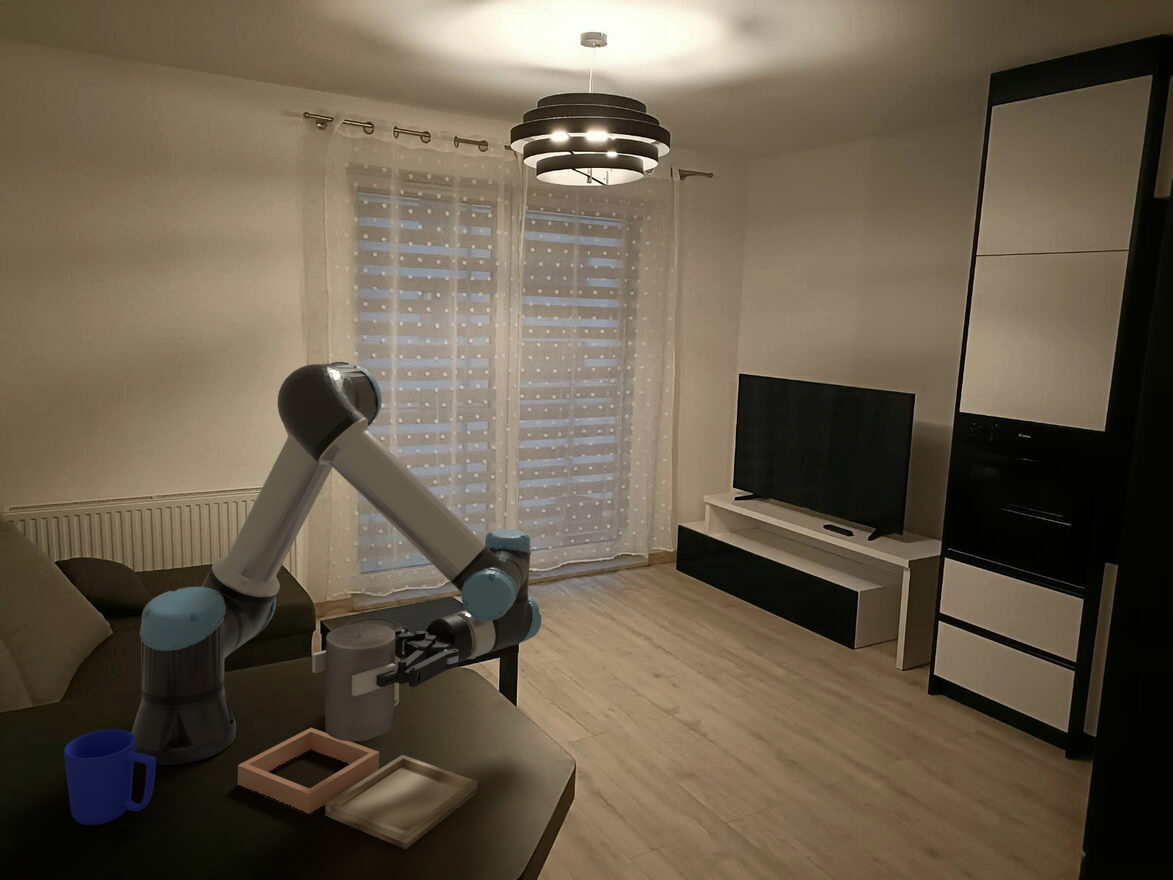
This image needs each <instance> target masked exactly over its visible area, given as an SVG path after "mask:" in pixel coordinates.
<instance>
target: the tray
mask: <svg viewBox="0 0 1173 880" xmlns="http://www.w3.org/2000/svg"><path fill="white" fill-rule="evenodd" d="M478 783H479V782H478V781H477V780H475V779H473V778H469V777H467V776H463V775H460V774H458V773H455V772H452V771H451V770H450V771H449V770H446V769H443V768H441V767H438V766H435V765H432V764H429V763H427V762H423V761H421V760H418V759H417V758H416V759H415V758H412V757H409V756H408V755H405V754H402V755H400V756H398V757H396V758H395V759H393V760H391V761H390V762H388V763H387V764H386V765H384V766H382V767H380V768H379V770H378V771H376V772H374V773H373V774H371V775H370V776H368V777H367V778H365V779H363V780H362V781H360V782H359V783H357V784H356V785H354V786H352V787H351V788H349V789H348V790H346V791H344V792H343V793H341V794H340V795H338V796H337V797H335V798H333V799H332V800H330V801H329V802H327V803H326V804H325V805H324V807H325V808H324V809H325V810H324V813H325V814H324V815H325V817H327V816H328V817H327V818H329V817H330V818H329V819H332V820H335V821H337V822H339V823H341V824H344V825H346V826H349V827H351V828H354V829H355V830H358V831H360V832H363V833H365V834H367V835H370V836H373V837H375V838H377V839H380V840H382V841H385V842H387V843H389V844H392V845H394V846H396V847H398V848H402V849H404V850H407V849H409V848H410V847H411V846H412V845H414V844H415V843H416V842H417V841H418V840H419V839H421V838H422V837H424V836H425V835H426V834H427V833H429V832H430V831H431V830H432V829H434V828H435V827H437V825H439V824H440V823H441V822H443V821H444V820H445V819H446V818H448V816H450V815H452V814H453V813H454V812H456V810H458V809H459V808H460V807H462V805H464V804H465V803H466V802H468V801H469V800H470V799H471V798H473V797H474V796H475V795H476V794H478V787H479V786H478ZM457 808H458V809H457Z"/></svg>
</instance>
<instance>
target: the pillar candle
mask: <svg viewBox="0 0 1173 880" xmlns="http://www.w3.org/2000/svg"><path fill="white" fill-rule="evenodd" d="M326 634H327V635H326V637H325V650H326V670H325V680H324V681H325V682H324V683H325V691H324V692H325V694H324V698H325V701H324V702H325V703H324V730H325V731H324V732H325V733H327V734H328V735H329V736H331V737H333V738H335V739H338V740H343V741H350V742H353V743H355V742H365V741H369V740H371V739H373V738H376V737H379V736H383V735H385V734H388V733H389V732H390V731H391V730H392V728H394V727H393V726H394V724H395V723H394V722H395V708H396V706H395V684H392V685H389V686H386V687H382V688H379V689H376V690H373V691H370V692H367V693H364V694H361V695H358V696H353V695H352V675H356V674H359V673H362V672H366V671H369V670H372V669H375V668H379V667H382V666H385V665H389V664H392V663H393V664H395V632H394V631H393V630H392V629H391V628H389V627H386V626H383V625H378V624H353V625H347V626H343V625H342V626H339V627H337V628H334V629H332V630H331V631H329V632H328V633H326Z"/></svg>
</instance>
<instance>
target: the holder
mask: <svg viewBox="0 0 1173 880" xmlns="http://www.w3.org/2000/svg"><path fill="white" fill-rule="evenodd" d="M310 749H312V750H310ZM308 750H309V751H313V750H314V752H315V751H316V753H318V752H319V754H320V755H323V754H324V756H326V755H327V756H326V757H329V756H330V757H329V758H331V757H333V758H332V759H334V758H336V759H335V760H337V759H338V760H337V761H339V760H341V761H340V762H342V761H343V762H342V763H345V762H347V763H346V764H349V765H347V766H345V767H344V768H342V769H340V770H338V771H337V772H335V773H333V774H331V775H330V776H329V777H327V778H325V779H323V780H322V781H319V782H318V783H316V784H314V785H313V786H312V787H310V788H309V787H306V786H304V785H302V784H299V783H296V782H294V781H292V780H289V779H286V778H284V777H281V776H280V775H276V774H273V773H271V772H272V771H271V770H273V769H274V768H276V767H277V766H279V765H281V764H283V763H285V762H286V761H289V760H290V759H293V758H294V757H296V758H298V757H300V756H302V755H303V754H302V753H304V752H306V751H307V752H309V751H308ZM307 752H306V753H307ZM301 754H302V755H301ZM304 754H305V753H304ZM299 755H300V756H299ZM297 756H298V757H297ZM293 760H294V759H293ZM289 762H290V761H289ZM285 764H286V763H285ZM379 767H380V751H378V750H375V749H373V748H372V749H371V748H369V747H366V746H364V745H361V744H359V743H355V742H352V741H351V742H350V741H343V740H338V739H335V738H333V737H331V736H329V735H328V734H327V733H326V731H322V730H319V729H316V728H313V727H310V728H308V729H305V730H304V731H301V732H300V733H298V734H296V735H294V736H292V737H290V738H288V739H285V740H284V741H282V742H280V743H279V744H276V745H274V746H273V747H270V748H268V749H267V750H264V751H262V752H261V753H259V754H257V755H255V756H253V757H251V758H249V759H247V760H245V761H244V762H241V763H240V764H238V765H237V786H239V785H241V786H240V787H242V786H243V788H244V787H245V789H247V788H248V789H247V790H249V789H250V790H249V791H251V790H253V791H252V792H254V791H257V792H258V793H261V794H264V795H266V796H270V797H271V798H274V799H276V800H278V801H280V802H283V803H285V804H288V805H291V806H292V807H295V808H297V809H299V810H302V811H304V812H306V813H309V814H310V813H311V812H313V811H314V810H316V809H317V810H319V809H320V807H321V806H322V807H324V806H325V804H326V803H327V802H329V801H330V800H332V799H333V798H335V797H337V796H338V795H340V794H341V793H343V792H344V791H346V790H348V789H349V788H351V787H352V786H354V785H356V784H357V783H359V782H360V781H362V780H363V779H365V778H367V777H368V776H370V775H371V774H373V773H374V772H376V771H378V770H379V769H380V768H379ZM276 769H277V768H276ZM274 770H275V769H274ZM274 770H273V771H274ZM269 771H271V772H269ZM258 793H257V794H258ZM261 794H260V795H261ZM266 796H265V797H266ZM280 802H279V803H280ZM285 804H284V805H285ZM323 805H324V806H323ZM292 807H291V808H292ZM322 807H321V808H322ZM318 808H319V809H318ZM299 810H298V811H299ZM317 810H316V811H317ZM314 812H315V811H314ZM314 812H313V813H314ZM306 813H305V814H306ZM311 814H312V813H311ZM311 814H310V815H311Z"/></svg>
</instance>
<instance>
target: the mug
mask: <svg viewBox="0 0 1173 880" xmlns="http://www.w3.org/2000/svg"><path fill="white" fill-rule="evenodd" d="M130 732H131V731H128V730H124V729H103V730H102V729H101V730H97V731H96V730H95V731H92V732H89V733H84V734H82V735H80V736H78V737H76V738H74V739H73V740H71V741H69V743H67V744H66V746H65V747H64V750H63V757H64V765H65V772H66V780H67V790H68V799H69V807H70V812H71V816H72V817H73V819H74V821H75V822H77V823H78V824H81V825H85V826H98V825H99V826H100V825H103V824H107V823H110V822H112V821H115V820H116V819H118V818H120V817H122V816H123V815H124V814H125V813H126V812H127V810H128V811H133V812H137V811H138V812H139V811H141V810H142V809H143V810H144V808H145V807H147V805H148V804H149V803H150V801H151V799H152V795H153V791H154V787H155V786H154V785H155V779H156V767H157V765H156V758H155V757H153V756H150V755H146V754H141V753H135V744H136V738H135V736H134V735H133V734H132V733H130ZM135 762H137V763H141V764H144V765H145V767H146V771H145V782H144V785H145V786H144V792H143V797H142V800H141V802H140V803H138V802H134V801H133V800H132V794H133V779H134V769H135V767H134V766H135Z"/></svg>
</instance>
